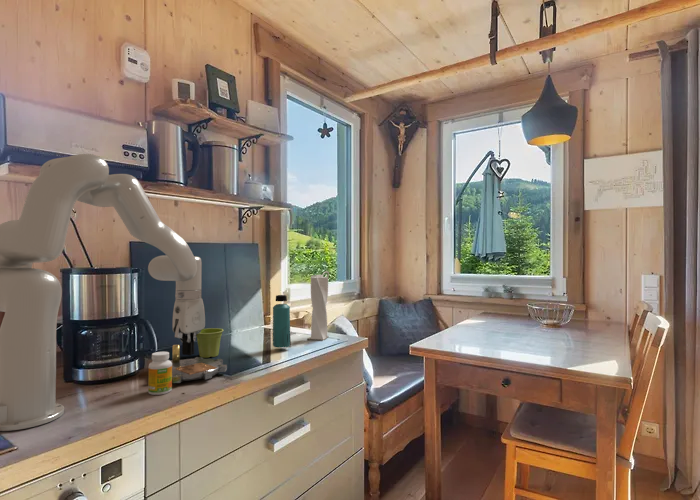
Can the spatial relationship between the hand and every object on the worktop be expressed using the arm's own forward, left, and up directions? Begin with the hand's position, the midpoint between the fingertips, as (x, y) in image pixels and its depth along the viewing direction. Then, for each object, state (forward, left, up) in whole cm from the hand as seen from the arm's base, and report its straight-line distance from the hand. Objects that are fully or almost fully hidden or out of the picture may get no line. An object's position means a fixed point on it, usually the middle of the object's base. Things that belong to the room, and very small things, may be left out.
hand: (188, 354), depth 127 cm
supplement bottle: (-17, -18, -4) cm, 25 cm away
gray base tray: (-5, -9, -3) cm, 11 cm away
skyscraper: (+56, -3, -4) cm, 56 cm away
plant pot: (+11, +6, -4) cm, 13 cm away
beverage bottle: (+33, -6, -4) cm, 34 cm away
